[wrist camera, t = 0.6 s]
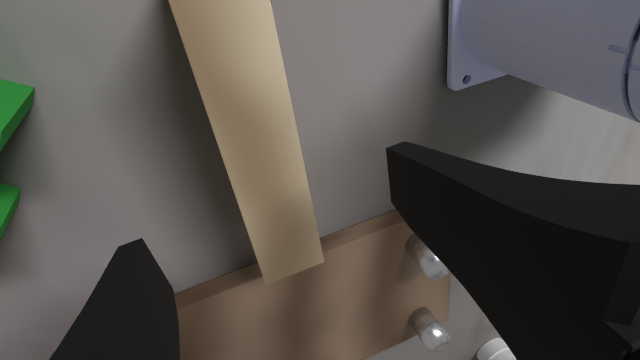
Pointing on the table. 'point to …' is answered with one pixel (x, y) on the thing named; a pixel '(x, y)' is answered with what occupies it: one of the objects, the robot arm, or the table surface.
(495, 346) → the pipe fitting
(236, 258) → the table surface
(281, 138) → the pine shelf board
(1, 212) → the green block
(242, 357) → the peg base
